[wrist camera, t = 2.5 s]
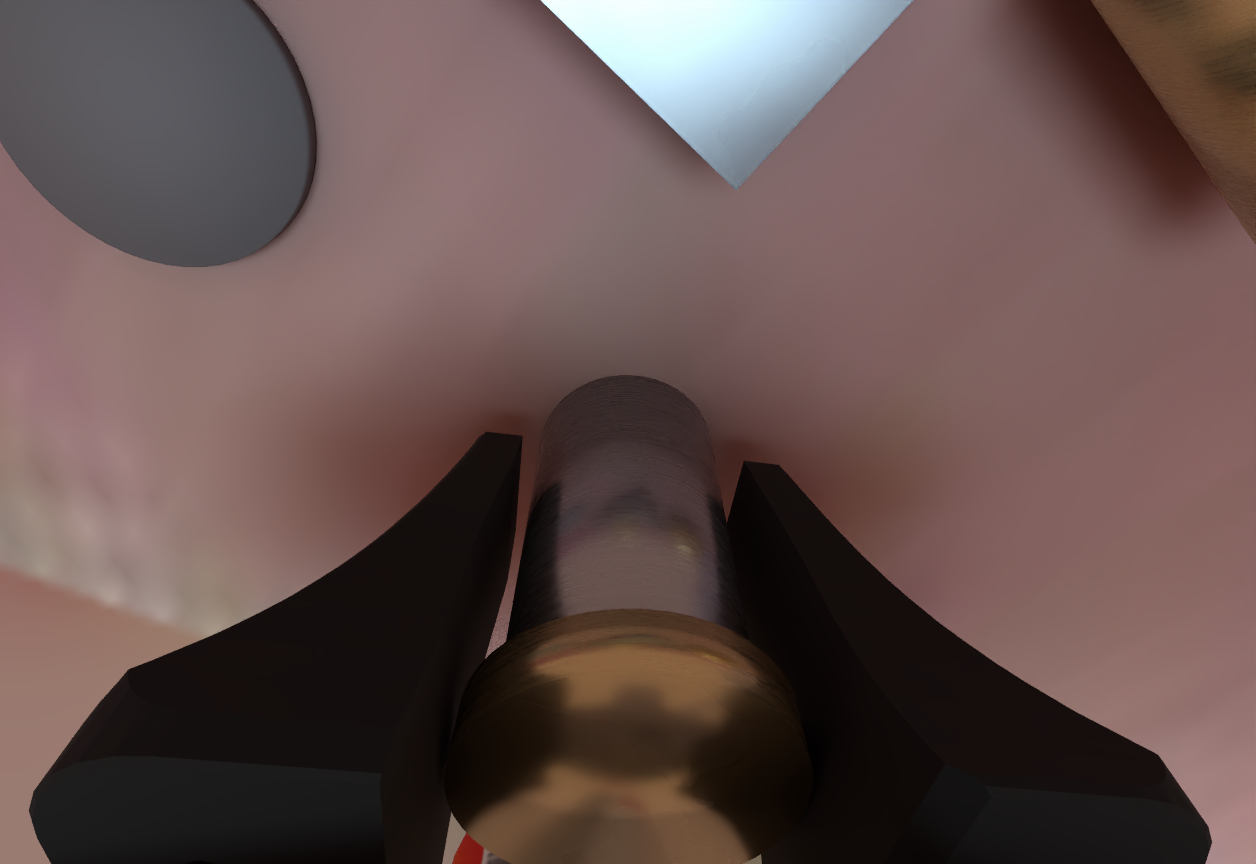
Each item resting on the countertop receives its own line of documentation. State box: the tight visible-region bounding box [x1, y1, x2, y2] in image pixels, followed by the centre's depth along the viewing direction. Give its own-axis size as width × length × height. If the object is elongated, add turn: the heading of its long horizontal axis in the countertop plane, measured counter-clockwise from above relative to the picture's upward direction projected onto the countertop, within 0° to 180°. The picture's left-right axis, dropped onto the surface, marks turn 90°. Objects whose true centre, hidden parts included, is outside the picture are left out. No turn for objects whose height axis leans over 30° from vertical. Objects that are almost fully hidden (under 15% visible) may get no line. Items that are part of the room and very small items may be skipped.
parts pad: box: [0, 0, 316, 267], centre depth 10 cm, size 4×4×1 cm
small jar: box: [444, 376, 813, 864], centre depth 11 cm, size 4×4×7 cm
